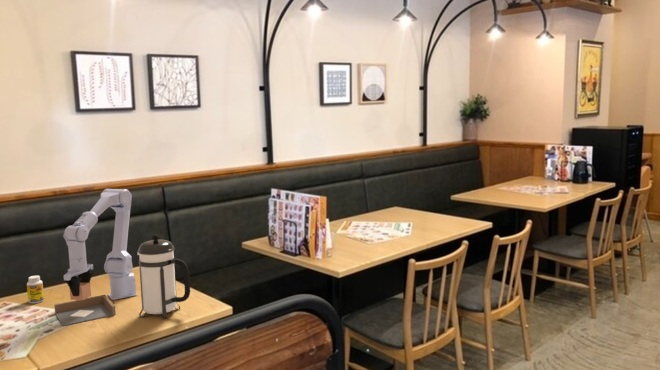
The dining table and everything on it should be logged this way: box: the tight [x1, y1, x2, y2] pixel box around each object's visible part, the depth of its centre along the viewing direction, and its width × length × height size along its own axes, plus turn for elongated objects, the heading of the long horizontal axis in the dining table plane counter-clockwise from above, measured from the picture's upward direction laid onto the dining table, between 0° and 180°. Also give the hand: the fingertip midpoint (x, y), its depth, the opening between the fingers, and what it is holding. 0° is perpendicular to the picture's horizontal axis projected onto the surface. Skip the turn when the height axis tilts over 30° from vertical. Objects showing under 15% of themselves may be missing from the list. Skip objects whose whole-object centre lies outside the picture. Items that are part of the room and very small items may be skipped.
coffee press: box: [137, 233, 191, 320], centre depth 201 cm, size 17×16×30 cm
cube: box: [69, 282, 92, 301], centre depth 201 cm, size 5×5×5 cm
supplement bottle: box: [26, 275, 45, 304], centre depth 216 cm, size 6×6×10 cm
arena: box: [54, 294, 117, 327], centre depth 202 cm, size 18×16×3 cm
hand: (80, 293), depth 201 cm, fingers closed on cube, 5 cm apart
